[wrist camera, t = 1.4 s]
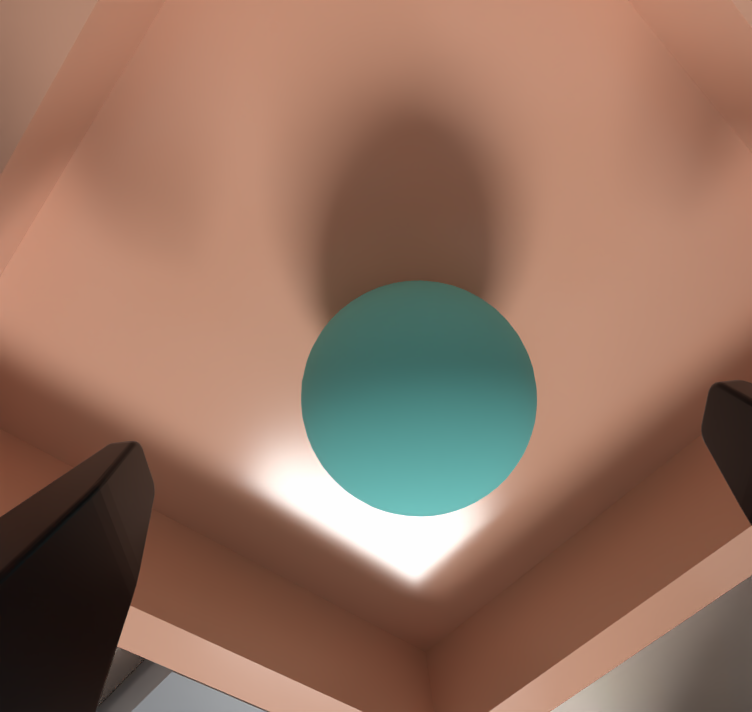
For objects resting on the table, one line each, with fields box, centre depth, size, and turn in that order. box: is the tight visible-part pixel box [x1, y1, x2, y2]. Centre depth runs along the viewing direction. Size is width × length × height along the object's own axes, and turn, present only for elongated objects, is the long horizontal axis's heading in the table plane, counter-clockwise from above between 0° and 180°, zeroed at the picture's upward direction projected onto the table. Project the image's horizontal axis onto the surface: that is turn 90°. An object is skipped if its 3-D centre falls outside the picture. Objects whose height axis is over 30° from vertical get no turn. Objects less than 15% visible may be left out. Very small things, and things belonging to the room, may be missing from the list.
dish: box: [0, 0, 752, 712], centre depth 11 cm, size 16×16×3 cm
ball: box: [301, 280, 537, 517], centre depth 10 cm, size 4×4×4 cm
